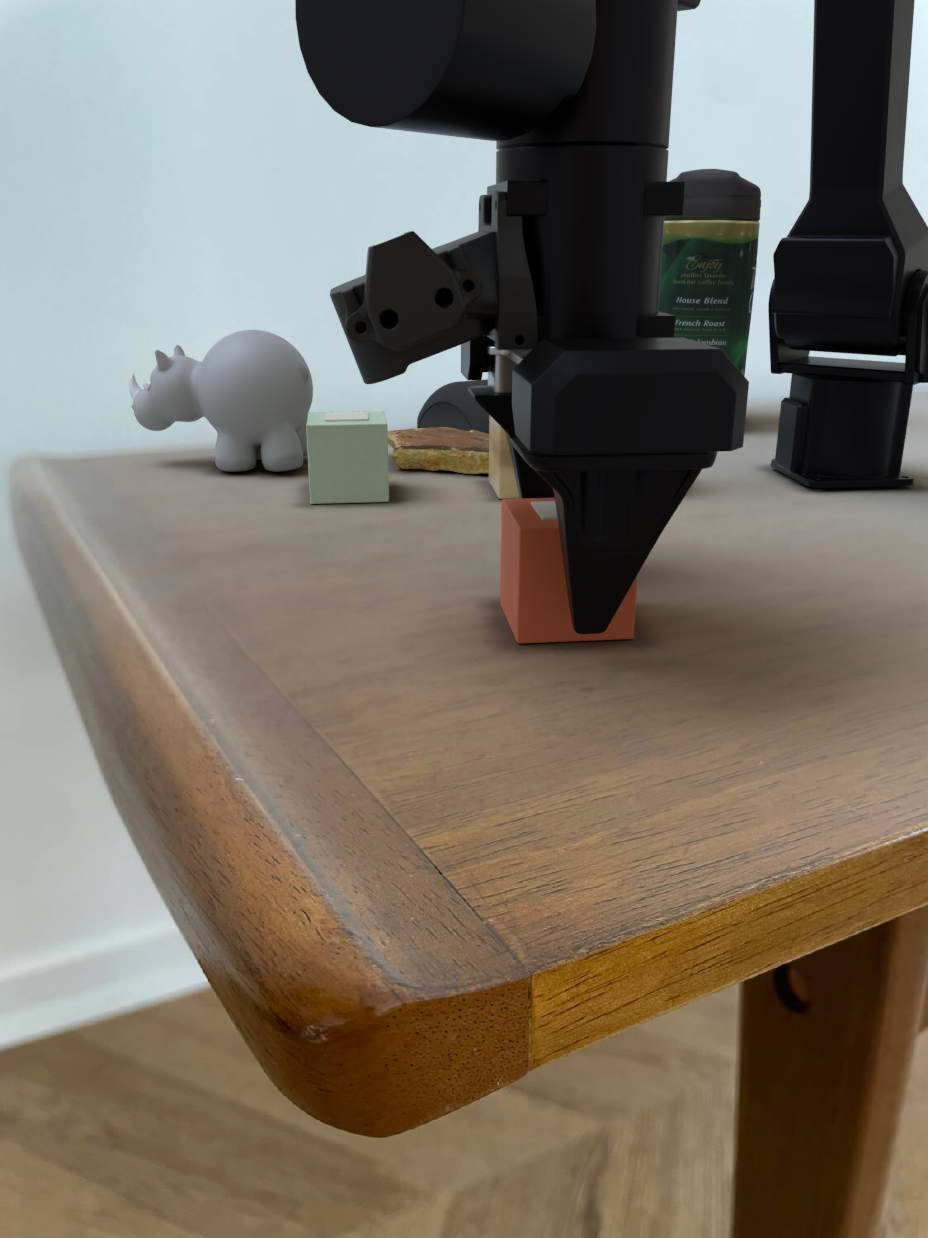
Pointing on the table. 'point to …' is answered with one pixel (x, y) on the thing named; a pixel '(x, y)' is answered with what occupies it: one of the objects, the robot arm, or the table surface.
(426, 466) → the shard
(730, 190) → the coffee jar
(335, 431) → the row block
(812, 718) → the table surface
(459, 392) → the computer mouse
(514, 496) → the row block
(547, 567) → the orange cube
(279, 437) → the toy rhinoceros
